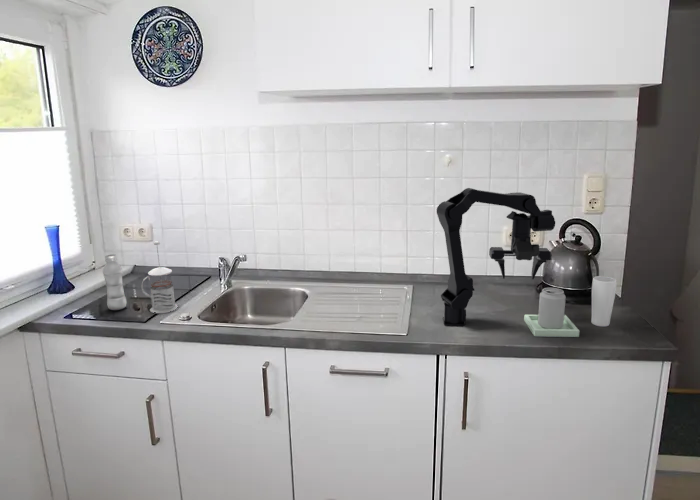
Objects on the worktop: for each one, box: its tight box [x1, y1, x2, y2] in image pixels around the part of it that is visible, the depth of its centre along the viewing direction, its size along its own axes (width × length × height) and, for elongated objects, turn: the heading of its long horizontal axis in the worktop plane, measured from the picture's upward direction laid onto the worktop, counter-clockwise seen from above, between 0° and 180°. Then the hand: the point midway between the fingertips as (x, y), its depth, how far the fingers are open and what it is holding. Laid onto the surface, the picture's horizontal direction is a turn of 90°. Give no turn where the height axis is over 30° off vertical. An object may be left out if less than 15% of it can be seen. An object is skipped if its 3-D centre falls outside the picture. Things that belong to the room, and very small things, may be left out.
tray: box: [523, 314, 580, 338], centre depth 162 cm, size 13×13×2 cm
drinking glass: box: [590, 275, 617, 328], centre depth 163 cm, size 7×7×15 cm
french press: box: [140, 240, 179, 314], centre depth 184 cm, size 10×12×25 cm
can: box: [537, 287, 566, 329], centre depth 161 cm, size 8×8×12 cm
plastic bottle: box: [102, 253, 127, 311], centre depth 185 cm, size 6×7×20 cm
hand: (518, 278), depth 171 cm, fingers open, 9 cm apart
